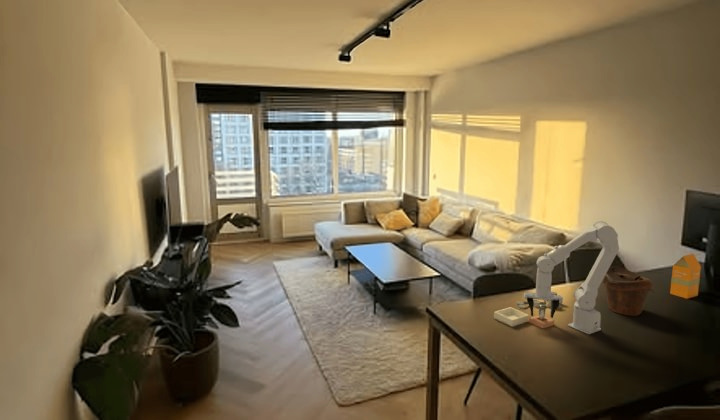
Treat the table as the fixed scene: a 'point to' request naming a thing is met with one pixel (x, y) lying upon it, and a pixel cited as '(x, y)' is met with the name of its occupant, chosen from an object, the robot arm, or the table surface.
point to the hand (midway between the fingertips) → (541, 316)
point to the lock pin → (542, 311)
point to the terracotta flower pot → (626, 291)
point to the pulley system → (536, 303)
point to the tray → (511, 316)
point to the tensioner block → (539, 323)
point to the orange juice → (686, 277)
